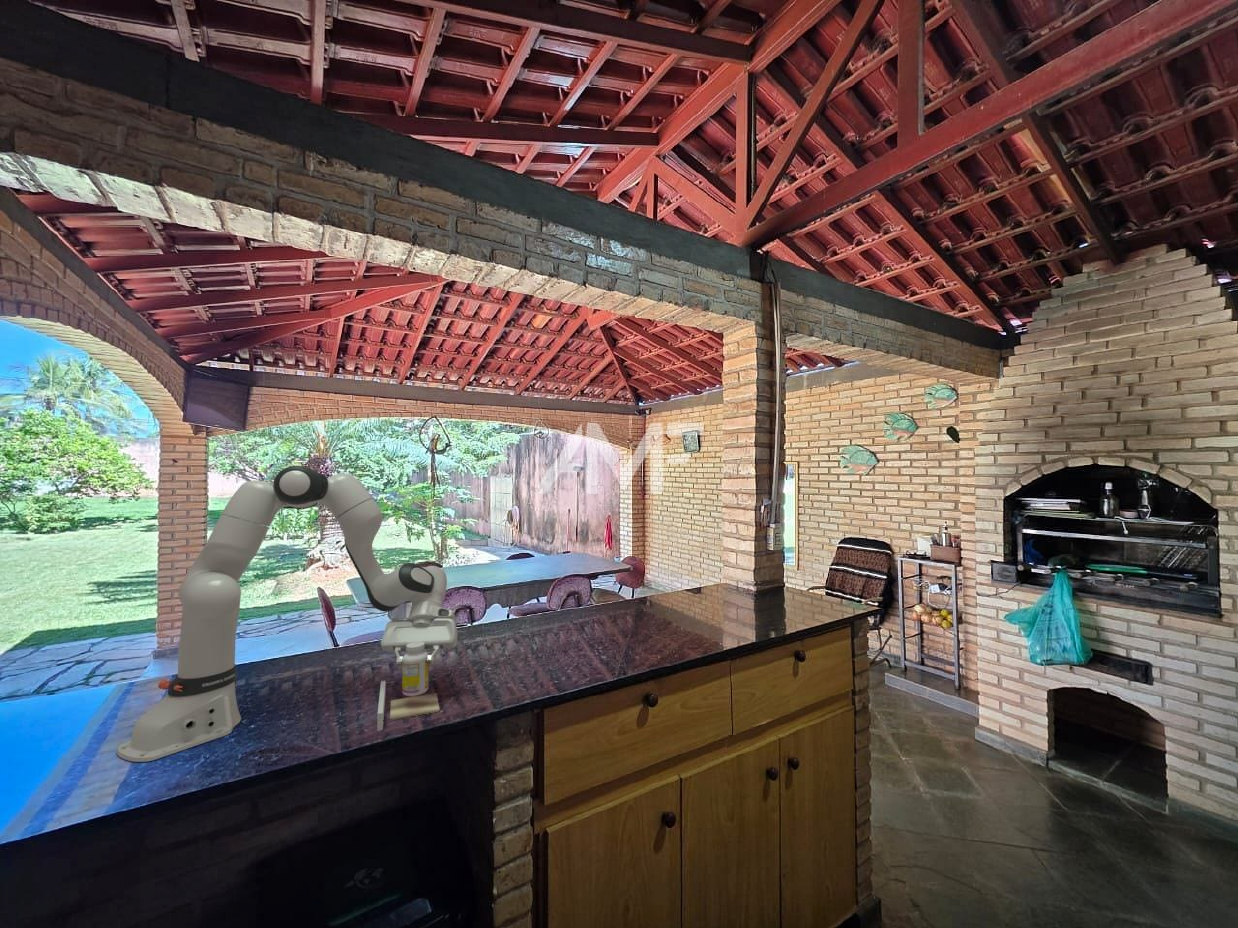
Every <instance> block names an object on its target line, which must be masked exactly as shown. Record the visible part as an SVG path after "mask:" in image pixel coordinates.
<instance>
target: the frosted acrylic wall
mask: <svg viewBox="0 0 1238 928" xmlns="http://www.w3.org/2000/svg"><path fill="white" fill-rule="evenodd" d="M386 681H387V680H381V681H380V689H379V698H378V705H377V722H376V723H377V724H376V725H377V726H376V728H377V729H376V730H377V731H380V730H384V721H383V720H384V718H385V708H386V707H385V705H386V704H385V703H386V693H387V692H386V686H387V685H386ZM377 731H376V732H377Z"/></svg>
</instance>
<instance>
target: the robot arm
mask: <svg viewBox="0 0 1238 928" xmlns="http://www.w3.org/2000/svg"><path fill="white" fill-rule="evenodd" d="M318 504H321V505H323V506H325V507H326V508H327V510H329V511H330V513H331V514H332V515H333V517H334V518H335V520H336V521H337V523H338V525H339V526H340V529H341V531H342V534H343V537H344V546H345V550H346V552H347V554H348V556H349V558H350V560H351V562H352V563H353V566H354V568H355V569H356V572H357V574H358V575H359V577H360V580H361V581H362V583H363V585H364V588H365V591H366V594H367V598H368V601H369V603H370V604H371V605H372V606H373V607H374V608H375V609H377V610H379V611H381V612H386V613H387V612H392V611H394V610H396V609H397V608H398V607H400V606H401V605H402V604H404V603H406V601H409V602H411V607H410V611H409V616H408V617H405V618H393V619H392V620H389V621H388V622H387V623H386V625H385V628H384V633H383V635H382V637H381V640H380V646H381V648H382V650H383V651H384V652H395V653H394V654H395V655H396V661H395V662H396V666H402V659H403V656H404V655H403V656H402V655H401V654H402V653H403V651H406V645H407V644H409V643H414V642H424V644H425V648H424V651H425V650H433V651H432V653H431V654H428V657H427V658H428V659H427V663H428V665H430V664H434V662H435V658H436V657H437V656H438V655H439V654H440V652H441V649H443V650H445V649H446V650H447V649H454V648H455V647H456V646H457V643H458V627H457V617H456V615H455V612H454V611H453V610H452V609H450V608H444V607H443V602H444V601H445V598H446V592H447V587H448V586H447V583H448V579H447V574H446V572H445V570H443V569H442V568H441V567H439V566H437V565H428V566H421V565H419V564H417V563H414V562H406V563H404V564H402V565H400V566H399V567H397V568H395V569H394V570H392V571H391V572H390V573H388V574H385V573H384V572H383V569H382V568H381V565H380V563H379V562H378V560H377V558H376V556H375V553H374V551H373V544H374V540H375V538H376V535H377V533H378V532H379V531H380V529H381V526H382V524H383V523H382V522H383V513H382V510H381V508H380V506H379V504H377V502H376V500H375V499H374V497H373V496H372V495H371V494H370V492H369V491H368V490H367V488H365V486H364V485H363V484H362V483H361V482H360V481H359V480H358V479H357V478H356V477H355V476H353V475H352V474H350V473H345V472H344V473H338V474H334V475H333V476H330V477H327V476H326V475H325V474H323V473H320V472H319V471H316V470H315V469H312V468H310V467H307V466H304V465H290V466H287V467H285V468H283V469H280V471H279V472H278V473H277V474H276V476H275V477H274V480H273V482H267V481H264V480H257V479H256V480H254V479H253V480H248V481H245V482H244V483H242V484H241V485H240V486H239V488H237V490H236V491H235V492H234V493H233V495H232V497H231V498H230V499H229V501H228V502H227V504H226V505H225V508H224V509H223V511H222V512H221V514H220V516H219V518H218V520H217V522H216V524H215V526H214V527H213V530H212V531H211V533H210V535H209V537H208V540H207V541H206V543H205V544H204V546H203V547H202V549H201V550H200V552H199V553H198V555H197V557H196V558H195V560H194V561H193V564H192V565H191V566H190V569H189V570H188V572H187V573H186V575H185V576H184V579H183V580H182V582H181V584H180V585H179V588H178V590H177V592H178V600H179V601H180V603H181V607H182V608H181V609H182V610H181V611H182V612H181V622H180V624H181V625H180V634H179V640H178V653H177V654H178V655H177V656H178V657H177V674H176V675H175V677H174V678H173V679H172V680H167V679H162V680H160V681H159V683H158V684H157V688H159V690H160V689H161V690H162V691H163V690H167V694H166V695H165V696H163V698H162V699H160V700H159V701H158V702H157V703H156V704H155V705H153V706H152V707H151V708H150V709H148V711H147V712H146V711H145V713H144V714H142V716H140V717H139V718H138V719H137V720H136V722H135V724H134V726H133V729H132V734H131V738H130V740H127V741H126V742H123V743H121V744H120V745H118V747H117V751H116V755H117V756H118V757H119V758H121V759H123V760H125V761H129V762H135V763H136V762H137V763H139V762H140V763H143V762H145V763H146V762H151V761H155V760H158V759H161V758H164V757H167V756H170V755H173V754H176V753H178V752H181V751H184V750H187V749H190V748H193V747H195V746H199V745H201V744H205V743H207V742H210V741H213V740H216V739H219V738H222V737H225V736H227V735H229V734H231V733H232V732H233V729H234V728H235V727H236V726H237V725H238V724H240V722H241V720H242V717H241V714H240V710H239V707H238V702H237V697H236V696H237V695H236V685H237V681H238V680H237V677H238V669H237V664H236V635H237V628H238V623H239V616H240V608H241V607H240V606H241V596H242V590H241V586H240V584H239V580H240V579H241V577H242V576H243V574H244V572H245V571H246V570H247V568H248V566H249V565H250V563H251V562H252V561H253V559H254V558H256V556H257V553H258V551H259V550H260V548H261V546H262V543H263V542H264V540H265V537H266V536H267V533H268V531H269V529H270V527H271V525H272V522H273V521H274V519H275V517H276V515H277V514H278V512H279V511H280V510H282V509H284V510H286V509H293V510H294V509H296V510H306V509H311V508H313V507H315V506H317V505H318ZM406 652H407V651H406Z"/></svg>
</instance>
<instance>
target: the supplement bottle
mask: <svg viewBox="0 0 1238 928" xmlns="http://www.w3.org/2000/svg"><path fill="white" fill-rule="evenodd" d="M424 648H425V644H424V642H414V643H409V644H407V645H406V654H404V655H403V659H402V665H401V666H402V667H401V671H402V672H401V674H402V675H401V676H402V677H401V679H402V680H401V681H402V682H401V684H402V685H401V686H402V688H401V689H402V691H401V692H402V694H403V695H404V696H406V697H414V696H420V695H424V693H426V692H427V691H428V690H429V664H428V663H427V659H428V658H427V657H428V655H429V654H428V652H427V651H425V650H424Z"/></svg>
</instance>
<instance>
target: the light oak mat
mask: <svg viewBox="0 0 1238 928" xmlns="http://www.w3.org/2000/svg"><path fill="white" fill-rule="evenodd" d="M440 710H441V709H440V703H439V699H438V692H434V693H426V694H420V695H416V696H407V697H404V698H398V699H397V698H396V699H392V700H390V710H389V711H390V713H389V721H390V720H394V719H400V718H405V717H411V716H416V717H419V716H418V715H422V714H427V715H430V714H429V713H433V714H435V713H434V712H438V711H440ZM440 712H441V711H440ZM438 713H439V712H438ZM422 716H423V715H422ZM411 718H412V717H411ZM405 719H406V718H405ZM400 720H401V719H400Z"/></svg>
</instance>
